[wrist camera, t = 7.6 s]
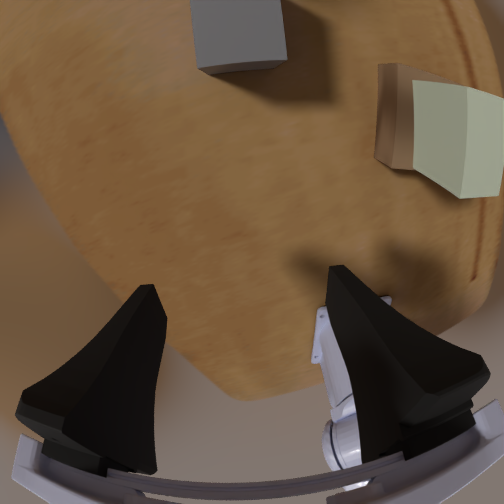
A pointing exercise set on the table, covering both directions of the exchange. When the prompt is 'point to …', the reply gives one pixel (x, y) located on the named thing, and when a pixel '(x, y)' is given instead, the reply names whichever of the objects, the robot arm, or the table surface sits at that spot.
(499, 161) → the sage brick
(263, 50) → the charcoal brick
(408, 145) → the walnut block
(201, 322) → the table surface
